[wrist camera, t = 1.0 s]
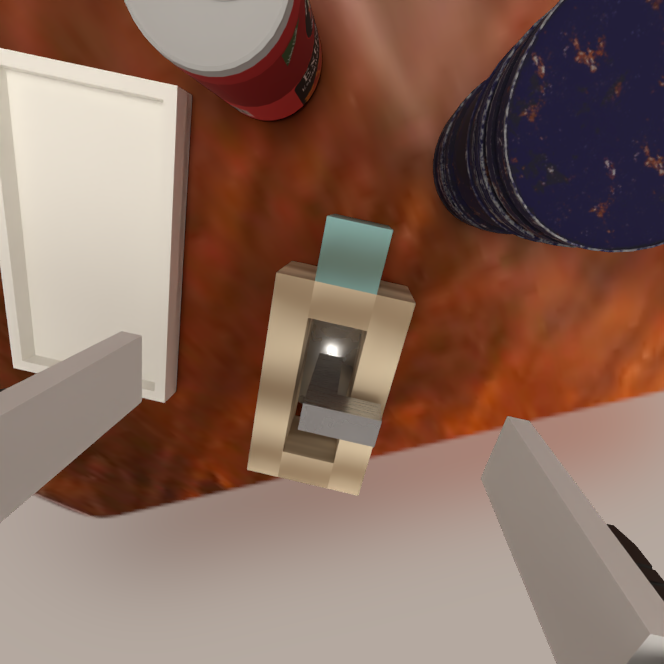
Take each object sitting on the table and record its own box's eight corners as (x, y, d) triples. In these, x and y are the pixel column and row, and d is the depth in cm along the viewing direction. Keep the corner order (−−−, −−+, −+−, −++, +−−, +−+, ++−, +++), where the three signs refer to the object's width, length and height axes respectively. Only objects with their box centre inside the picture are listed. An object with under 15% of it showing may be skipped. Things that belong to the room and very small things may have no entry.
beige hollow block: (301, 206, 26) (286, 206, 21) (422, 233, 26) (434, 239, 21) (264, 431, 33) (247, 469, 28) (359, 453, 32) (358, 495, 28)
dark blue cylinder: (483, 256, 29) (593, 306, 15) (403, 160, 27) (443, 110, 13) (599, 161, 26) (880, 109, 12) (519, 46, 24) (736, -182, 10)
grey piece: (277, 383, 34) (238, 460, 24) (292, 295, 31) (255, 339, 21) (368, 404, 34) (368, 490, 24) (392, 317, 31) (405, 373, 21)
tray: (33, 358, 36) (13, 367, 34) (1, 54, 27) (-29, 41, 25) (176, 391, 36) (164, 402, 34) (192, 95, 27) (177, 85, 25)
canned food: (331, 112, 26) (307, 52, 16) (229, 132, 27) (145, 88, 17) (314, -17, 24) (273, -188, 13) (203, 11, 25) (86, -127, 15)
